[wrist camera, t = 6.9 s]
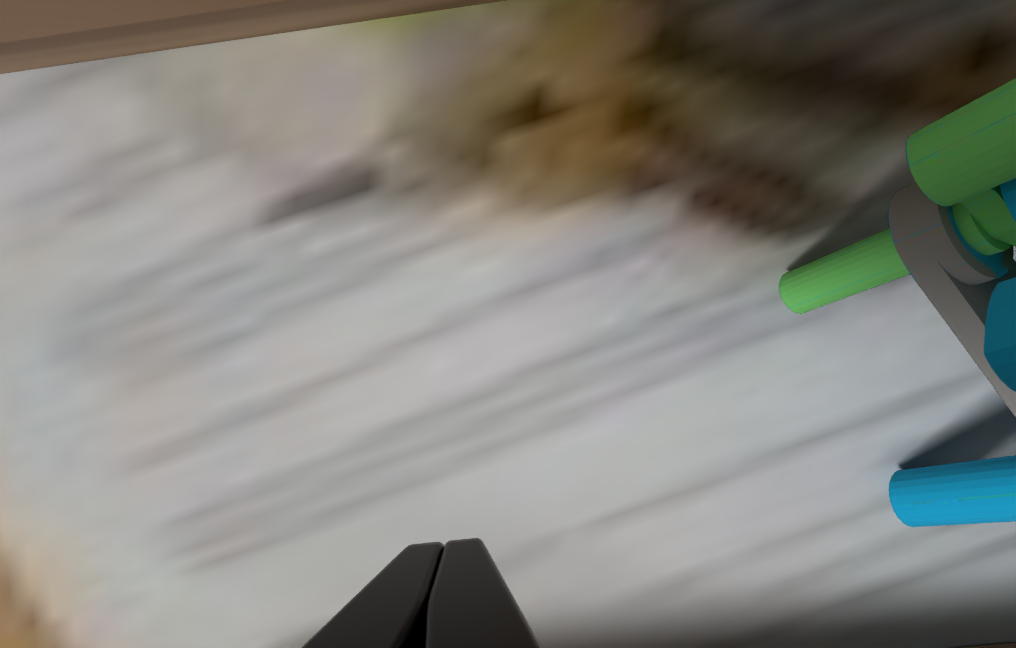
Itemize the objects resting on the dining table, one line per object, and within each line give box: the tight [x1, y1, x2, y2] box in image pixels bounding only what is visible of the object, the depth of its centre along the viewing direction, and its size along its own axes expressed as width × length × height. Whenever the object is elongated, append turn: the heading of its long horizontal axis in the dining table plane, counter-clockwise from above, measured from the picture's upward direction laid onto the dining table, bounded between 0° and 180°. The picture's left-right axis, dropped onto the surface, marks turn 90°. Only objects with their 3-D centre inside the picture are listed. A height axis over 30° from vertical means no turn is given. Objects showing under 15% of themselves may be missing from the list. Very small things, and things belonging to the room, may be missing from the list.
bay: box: [0, 0, 1016, 648], centre depth 12 cm, size 16×28×3 cm, turn 98°
